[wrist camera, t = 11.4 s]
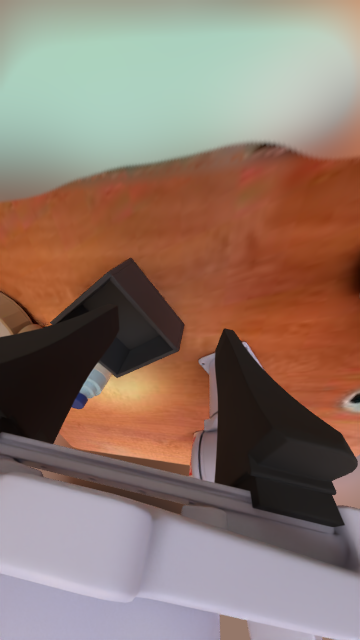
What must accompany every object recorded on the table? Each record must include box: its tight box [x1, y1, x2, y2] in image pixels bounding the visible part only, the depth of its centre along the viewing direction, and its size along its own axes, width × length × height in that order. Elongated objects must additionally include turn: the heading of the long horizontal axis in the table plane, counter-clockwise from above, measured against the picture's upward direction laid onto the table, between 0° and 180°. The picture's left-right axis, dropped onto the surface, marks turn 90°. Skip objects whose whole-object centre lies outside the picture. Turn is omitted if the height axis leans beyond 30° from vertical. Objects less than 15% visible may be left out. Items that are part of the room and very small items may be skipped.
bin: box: [50, 258, 184, 378], centre depth 22 cm, size 11×11×5 cm
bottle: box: [72, 363, 112, 409], centre depth 26 cm, size 5×5×9 cm
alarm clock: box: [0, 292, 43, 337], centre depth 27 cm, size 11×5×15 cm
